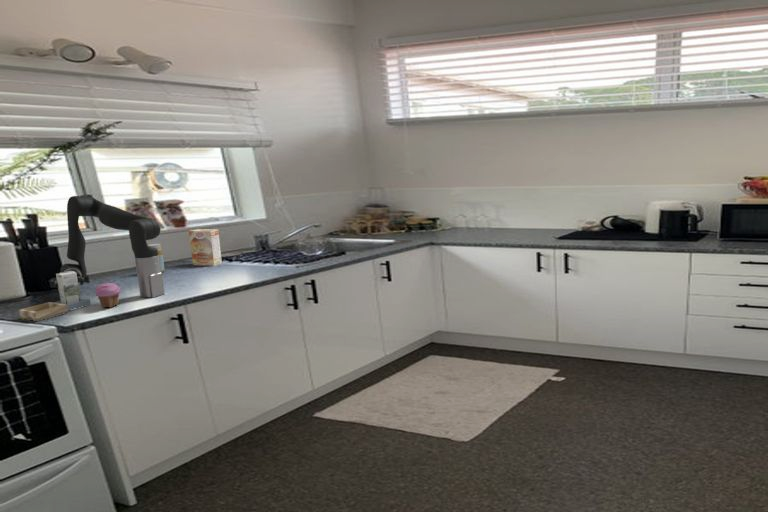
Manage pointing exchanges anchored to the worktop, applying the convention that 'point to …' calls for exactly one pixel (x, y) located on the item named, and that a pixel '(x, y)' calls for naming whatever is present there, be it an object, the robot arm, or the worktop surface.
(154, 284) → the robot arm
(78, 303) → the blue-grey shallow square dish
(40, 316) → the tray
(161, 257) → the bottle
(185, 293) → the worktop surface
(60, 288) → the syrup box
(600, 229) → the worktop surface
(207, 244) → the coffeecake box
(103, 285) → the cupcake
